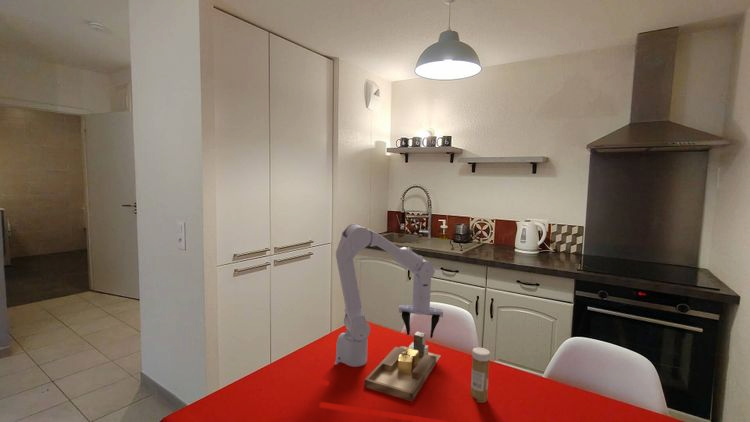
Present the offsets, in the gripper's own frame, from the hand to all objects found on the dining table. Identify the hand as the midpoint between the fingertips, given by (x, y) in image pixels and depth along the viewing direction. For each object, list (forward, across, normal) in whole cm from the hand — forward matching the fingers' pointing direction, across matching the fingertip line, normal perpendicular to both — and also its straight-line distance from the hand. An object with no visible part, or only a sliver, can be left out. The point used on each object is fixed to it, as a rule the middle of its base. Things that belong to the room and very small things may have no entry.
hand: (419, 335), depth 119 cm
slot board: (+7, -3, -12) cm, 14 cm away
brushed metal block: (+6, 0, 0) cm, 6 cm away
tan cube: (+6, -2, -8) cm, 11 cm away
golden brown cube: (+6, -3, -13) cm, 15 cm away
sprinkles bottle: (+7, +18, -20) cm, 28 cm away
